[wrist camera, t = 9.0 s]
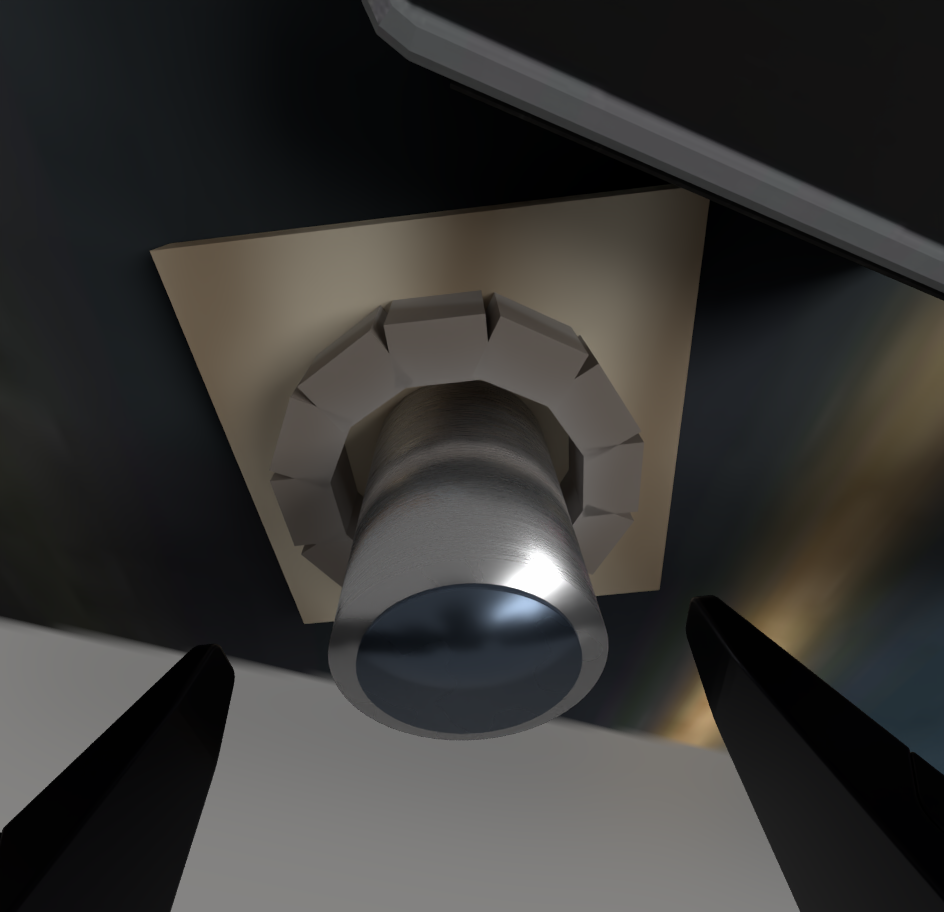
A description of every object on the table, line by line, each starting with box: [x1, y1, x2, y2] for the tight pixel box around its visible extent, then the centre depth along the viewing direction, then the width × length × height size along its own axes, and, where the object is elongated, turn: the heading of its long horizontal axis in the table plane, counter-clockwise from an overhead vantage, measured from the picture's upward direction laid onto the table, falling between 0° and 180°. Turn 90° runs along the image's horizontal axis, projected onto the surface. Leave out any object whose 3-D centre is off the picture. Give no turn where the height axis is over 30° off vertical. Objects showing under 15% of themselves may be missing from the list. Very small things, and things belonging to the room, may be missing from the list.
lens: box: [328, 380, 608, 740], centre depth 12 cm, size 5×5×7 cm
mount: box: [150, 184, 710, 624], centre depth 15 cm, size 13×13×3 cm
